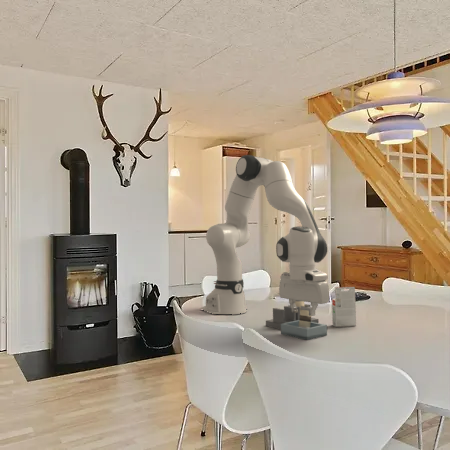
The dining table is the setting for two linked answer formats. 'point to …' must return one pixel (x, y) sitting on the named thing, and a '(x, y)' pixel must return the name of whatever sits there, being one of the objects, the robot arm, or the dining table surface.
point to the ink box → (344, 307)
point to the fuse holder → (285, 316)
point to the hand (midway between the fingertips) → (303, 313)
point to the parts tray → (304, 330)
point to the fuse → (299, 303)
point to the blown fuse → (304, 317)
